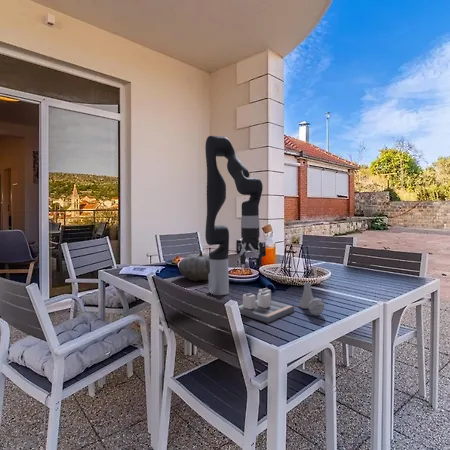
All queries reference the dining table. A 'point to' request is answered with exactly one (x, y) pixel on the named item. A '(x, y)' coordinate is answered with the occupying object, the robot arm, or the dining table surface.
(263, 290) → the breaker
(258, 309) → the square grey tray
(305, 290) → the flask
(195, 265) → the gourd
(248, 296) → the breaker
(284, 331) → the dining table surface
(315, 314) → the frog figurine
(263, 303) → the tripped breaker
